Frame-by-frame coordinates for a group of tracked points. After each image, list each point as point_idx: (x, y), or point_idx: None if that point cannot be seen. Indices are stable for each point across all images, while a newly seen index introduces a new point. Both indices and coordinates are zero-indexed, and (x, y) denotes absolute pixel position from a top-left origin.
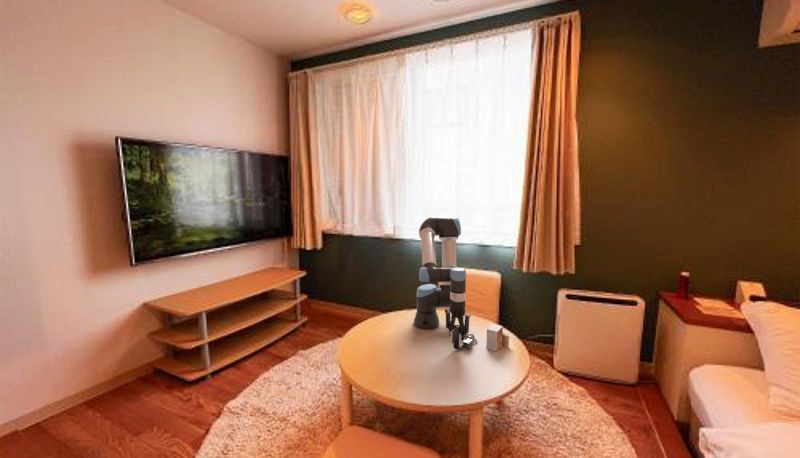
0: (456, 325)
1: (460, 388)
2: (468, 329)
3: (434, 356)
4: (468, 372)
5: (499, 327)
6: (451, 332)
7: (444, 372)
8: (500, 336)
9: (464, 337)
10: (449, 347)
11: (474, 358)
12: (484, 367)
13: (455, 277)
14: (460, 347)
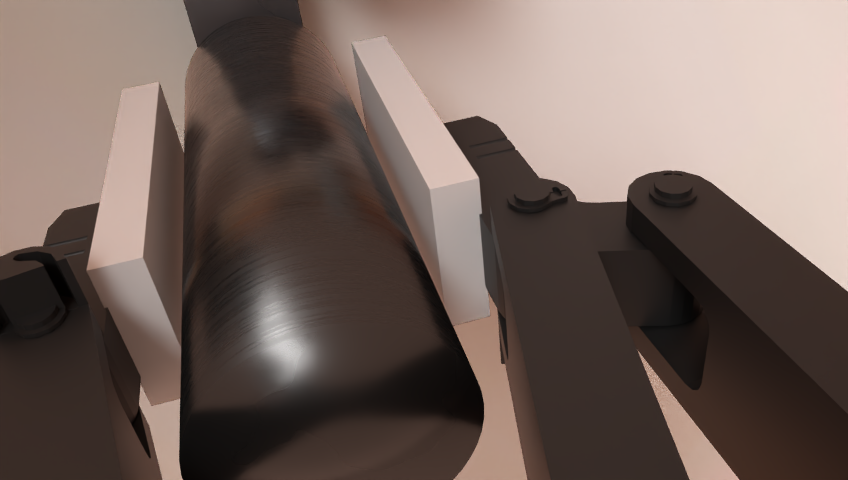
0: (256, 423)
1: (719, 474)
2: (778, 260)
3: (170, 409)
4: None
5: None
6: (179, 381)
7: (494, 470)
8: None
9: (513, 159)
10: (57, 68)
11: (614, 5)
12: (810, 83)
13: None
14: (299, 13)
